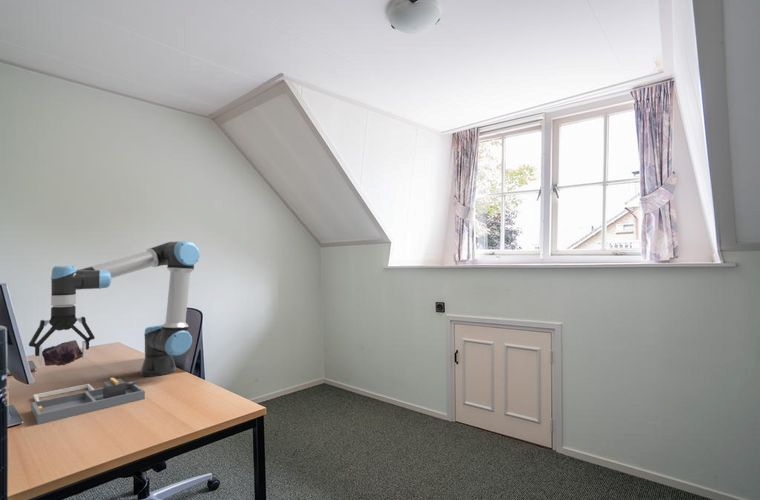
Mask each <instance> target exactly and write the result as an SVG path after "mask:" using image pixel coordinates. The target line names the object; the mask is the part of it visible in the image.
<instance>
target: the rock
mask: <svg viewBox="0 0 760 500" xmlns="http://www.w3.org/2000/svg"><path fill="white" fill-rule="evenodd" d="M81 358H82V350H81V349H80V346H79V344H78V342H77V340H69V341H65V342H62V343H59V344H57V345H53V346H49V347H46V348H44V349H42V359H43V361H44V365H45V367H48V366H51V367H52V366H59V367H60V366H66V365H69V364H71V363H73V362H75V361H76V360H79V359H81Z"/></svg>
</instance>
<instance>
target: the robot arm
mask: <svg viewBox="0 0 760 500" xmlns="http://www.w3.org/2000/svg"><path fill="white" fill-rule="evenodd" d="M200 255H201V253H200V249H199V248H198V246H197V245H196V244H195V243H193V242H192V241H186V240H181V241H169V242H165V243H162V244H159V245H156V246H153V247H150V248H147V250H146V251H143V252H139V253H136V254H132V255H129V256H128V255H127V256H124V257H121V258H118V259H114V260H110V261H106V262H103V263H99V264H95V265H92V266H88V267H85V268H80V269H77V267H76V266H74V265H58V266H56V265H55V266H53V268H52V269H51V275H50V276H51V277H50V281H51V282H50V283H51V292H50V293H51V296H50V299H51V300H50V305H51V308H50V319H48V320H47V319H46V320H44V319H41V320H40V321H39V325H38V328H37V329H36V331H35V333H34V334H33V336H32V338H31V339H30V341H29V343H28V346H29V347H30V348H31V347H32V348H34V355H35V357H38V366H42V365H43V356H42V351H43V346H41V345H43V344H44V343H45V341H47V340H48V338H49V337H50V336H51V335H52V334H53V333H55V331H58V332H59V331H60V332H61V331H69V330H70V329H72V330H73V331H74V332H75V333H77V335H79V336H80V337H81V338H82V339H83V341H82V343H81V344H82V348H81V349H82V350H81V351H82V357H81V358H82V359H83V360H85V359H87V357H86V356H87V355H86V354H87V350H89V349H90V341H92V340H95V336H94V334H93V332H92V331H91V328H90V327H89V325H88V324H87V321H86V317H85V316H80V317H76V313H77V312H76V306H75V305H76V304H77V303H76V302H77V298H76V297H77V291H78V290H93V289H94V290H95V289H97V290H98V289H99V290H101V289H107V288H109V286H111V283H112V279H113V278H117V277H120V276H124V275H126V274H131V273H134V272H137V271H140V270H143V269H147V268H151V267H152V268H158V267H163V266H167V267H166V269H167V270H168V271H169V273H170V274H169V281H168V282H169V283H168V284H169V285H168V294H167V304H166V305H167V306H166V316H165V322H164V323H163V324H160V325H153V326H147V327H146V328H145V329H144V335H143V336H144V359H143V363H142V365H141V368H140V376H142V377H159V376H164V375H169V374H172V373H174V372H176V368H177V367H176V364H175V360H174V358H173V356H181V355H183V354H185V353H186V352H187V351H188V350H189V349H190V348H191V346H192V344H193V337H192V335H191V334H190V333H191V332H189V327H190V326H189V325H188V323H187V322H186V320H187V312H188V311H187V309H188V301H189V300H188V299H189V297H188V296H189V287H190V275H191V272H193V271H194V269H195V265H196V264H197V262H199V259H200ZM77 321H78V322H79V323H80V324H81V325H82V326H83V328H84V330H85V331H86V333H87V335H88V336H86V335H85V334H84V333H83V332H82V331H81V330H79V328H77V327H76V326H75V324H76V323H77ZM48 324H49V325H50V326H51V327H50V328H49V329H48V330H47V332H46V333H45V334H44V335H42V337H41V338H40V339H39V340H38V338H39V336H40V335H41V333H42V332H43V330H44V328H45V327H47V326H48ZM37 340H38V341H37ZM36 341H37V342H36Z"/></svg>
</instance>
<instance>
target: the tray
mask: <svg viewBox="0 0 760 500" xmlns="http://www.w3.org/2000/svg"><path fill="white" fill-rule="evenodd" d="M83 389H87V390H88V391H90V390H94V389H95V388H94V386H92V385H91V384H90V383H86V384H82V385H76V386H71V387H65V388H61V389H60V388H59V389H56V390H50V391H45V392H41V393H35V394H33V400H34V402H37V401H41V400H40V398H44V397H49V396H50V397H51V396H53V395H59V394H64V393H69V392H74V391H79V390H83Z"/></svg>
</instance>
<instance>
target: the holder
mask: <svg viewBox="0 0 760 500" xmlns="http://www.w3.org/2000/svg"><path fill="white" fill-rule="evenodd" d="M145 396H146V395H145V390H144V389H143V388H142V387H140V386H139V385H137V381H136V380H132V381H124V380H123V379H121V378H115V377H110V378H109V380H107V381H103V383H102V387H99V388H94V390H85V391H81V392H76V393H72V394H71V393H70V394H65V395H61V396H57V397H53V398H52V397H51V398H48V399H47V398H46V399H42V400H40V401H37V402H35V401H32V402H31V413H32V415H33V416H34V418H35V422H36V423H37V425H42V424H45V423H49V422H53V421H54V422H55V421H58V420H61V419H62V420H63V419H66V418H69V417H74V416H79V415H83V414H86V413H91V412H95V411H99V410H104V409H107V408H112V407H117V406H120V405H124V404H128V403H134V402H137V401H141V400H145Z"/></svg>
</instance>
